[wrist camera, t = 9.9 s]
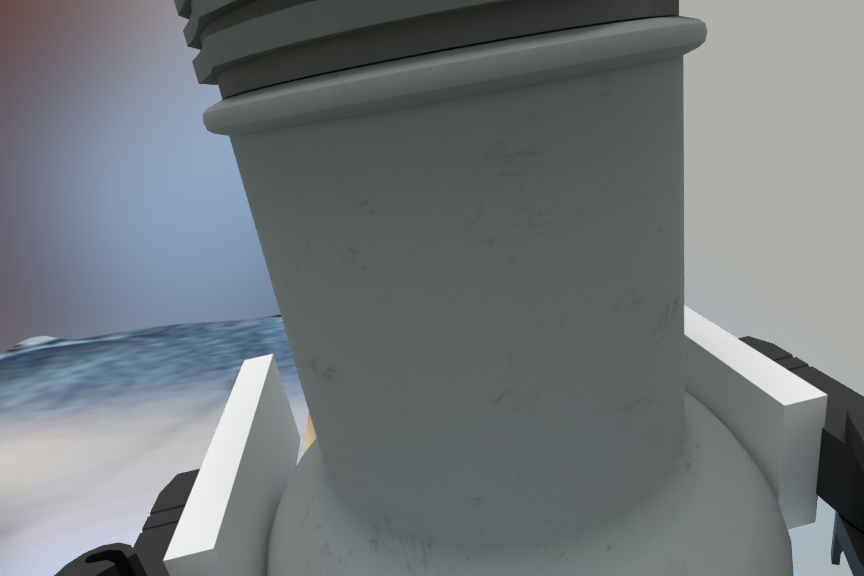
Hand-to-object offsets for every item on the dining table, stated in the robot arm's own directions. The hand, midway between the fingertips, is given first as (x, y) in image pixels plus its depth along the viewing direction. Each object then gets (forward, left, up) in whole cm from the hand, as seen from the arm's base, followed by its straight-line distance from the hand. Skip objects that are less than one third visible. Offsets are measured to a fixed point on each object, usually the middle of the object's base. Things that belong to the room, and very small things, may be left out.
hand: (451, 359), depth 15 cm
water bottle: (0, -5, -15) cm, 16 cm away
